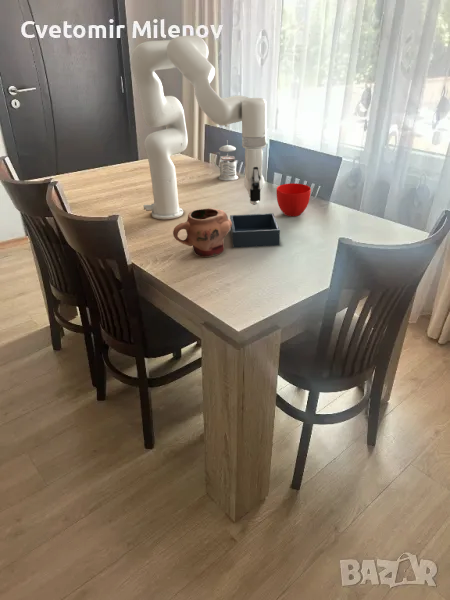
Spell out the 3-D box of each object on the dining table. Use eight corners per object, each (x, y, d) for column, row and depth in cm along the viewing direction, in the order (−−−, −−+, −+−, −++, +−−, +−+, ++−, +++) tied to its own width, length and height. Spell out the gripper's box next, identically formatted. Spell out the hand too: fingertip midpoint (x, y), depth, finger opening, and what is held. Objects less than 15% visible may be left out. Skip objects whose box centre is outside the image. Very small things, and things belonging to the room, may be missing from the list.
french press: (238, 180, 214) (237, 125, 201) (214, 180, 214) (211, 126, 201) (238, 174, 222) (237, 121, 209) (215, 175, 223) (212, 122, 209)
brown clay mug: (186, 268, 137) (182, 226, 130) (168, 254, 146) (164, 214, 138) (240, 252, 146) (239, 211, 138) (220, 239, 155) (219, 201, 147)
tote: (233, 247, 148) (232, 232, 146) (230, 229, 162) (230, 215, 159) (279, 245, 149) (280, 230, 146) (273, 227, 162) (273, 213, 159)
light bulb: (243, 201, 152) (242, 169, 146) (262, 200, 152) (262, 168, 146) (245, 208, 146) (245, 175, 140) (265, 207, 146) (266, 174, 141)
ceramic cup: (313, 205, 180) (315, 181, 175) (305, 221, 167) (307, 195, 161) (282, 203, 184) (283, 179, 179) (272, 217, 170) (272, 192, 165)
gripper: (240, 136, 146) (240, 190, 155) (244, 148, 131) (245, 206, 140) (262, 135, 146) (262, 188, 155) (269, 147, 131) (268, 205, 140)
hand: (254, 196), depth 148 cm, fingers closed on light bulb, 6 cm apart
